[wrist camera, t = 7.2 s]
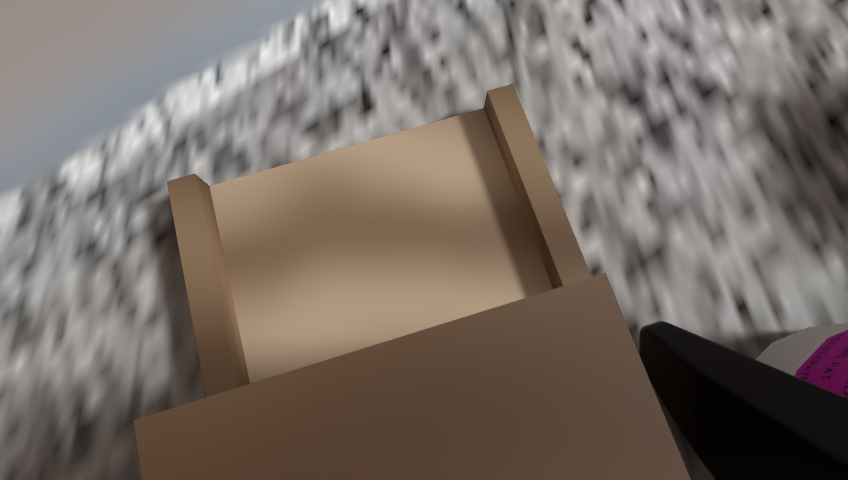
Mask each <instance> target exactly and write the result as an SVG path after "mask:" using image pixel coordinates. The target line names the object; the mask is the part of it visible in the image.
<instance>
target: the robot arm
mask: <svg viewBox="0 0 848 480" xmlns="http://www.w3.org/2000/svg"><path fill="white" fill-rule="evenodd" d="M639 355H640V358H641V360H642V363H643V365H644V367H645V370H646V372H647V375H648V377H649V380H650V382H651V384H652V386H653V387H654V389H655V391H656V392H657V394H658V395H659V397H660V399H661V400H662V402H663V404H664V405H665V407H666V408H667V410H668V412H669V413H670V415H671V416H672V418H673V420H674V421H675V423H676V425H677V426H678V428H679V429H680V431H681V433H682V434H683V436H684V437H685V439H686V440H687V442H688V443H689V445H690V446H691V448H692V449H693V450H694V452H695V453H696V454H697V456H698V457H699V458H700V460H701V461H702V462H703V464H704V465H705V466H706V467H707V469H708V470H709V471H710V473H711V474H712V475H713V477H714V478H715V479H716V480H848V398H845V397H843V396H841V395H838V394H836V393H834V392H831V391H829V390H826V389H824V388H822V387H819V386H817V385H815V384H812V383H810V382H807V381H805V380H803V379H800V378H798V377H796V376H793V375H791V374H788V373H786V372H784V371H781V370H779V369H777V368H774V367H772V366H769V365H767V364H765V363H762V362H760V361H758V360H755V359H753V358H750V357H748V356H746V355H743V354H741V353H739V352H736V351H734V350H731V349H729V348H727V347H724V346H722V345H719V344H717V343H715V342H712V341H710V340H708V339H705V338H703V337H700V336H698V335H696V334H693V333H691V332H689V331H686V330H684V329H681V328H679V327H677V326H674V325H672V324H670V323H667V322H663V321H659V322H656V323H653V324H650V325H647V326H644V327H642V328H641V330H640V338H639Z"/></svg>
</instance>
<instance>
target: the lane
mask: <svg viewBox="0 0 848 480" xmlns="http://www.w3.org/2000/svg"><path fill="white" fill-rule="evenodd" d="M167 185H168V191H169V196H170V202H171V207H172V213H173V218H174V224H175V229H176V235H177V241H178V246H179V252H180V257H181V263H182V268H183V274H184V279H185V285H186V290H187V296H188V301H189V307H190V312H191V318H192V323H193V329H194V334H195V340H196V345H197V351H198V357H199V362H200V368H201V373H202V379H203V384H204V390H205V395H206V397H209V396H212V395H215V394H218V393H222V392H225V391H228V390H231V389H234V388H238V387H241V386H244V385H247V384H251V383H254V382H257V381H260V380H263V379H267V378H270V377H273V376H276V375H279V374H283V373H286V372H289V371H292V370H296V369H299V368H302V367H305V366H308V365H312V364H315V363H318V362H321V361H324V360H328V359H331V358H334V357H337V356H341V355H344V354H347V353H350V352H353V351H357V350H360V349H363V348H366V347H369V346H373V345H376V344H379V343H382V342H385V341H389V340H392V339H395V338H398V337H402V336H405V335H408V334H411V333H414V332H418V331H421V330H424V329H427V328H430V327H434V326H437V325H440V324H443V323H447V322H450V321H453V320H456V319H459V318H463V317H466V316H469V315H472V314H475V313H479V312H482V311H485V310H488V309H492V308H495V307H498V306H501V305H504V304H508V303H511V302H514V301H517V300H520V299H524V298H527V297H530V296H533V295H536V294H540V293H543V292H546V291H549V290H553V289H556V288H559V287H562V286H565V285H569V284H572V283H575V282H578V281H581V280H585V279H588V278H591V275H590V272H589V270H588V267H587V265H586V262H585V260H584V257H583V255H582V253H581V250H580V248H579V245H578V243H577V240H576V238H575V235H574V233H573V231H572V228H571V226H570V223H569V221H568V218H567V216H566V213H565V211H564V208H563V206H562V204H561V201H560V199H559V196H558V194H557V191H556V189H555V186H554V184H553V181H552V179H551V177H550V174H549V172H548V169H547V167H546V164H545V162H544V159H543V157H542V155H541V152H540V150H539V147H538V145H537V142H536V140H535V137H534V135H533V132H532V130H531V128H530V125H529V123H528V120H527V118H526V115H525V113H524V110H523V108H522V105H521V103H520V101H519V98H518V96H517V93H516V91H515V88H514V86H513V84H511V85H507V86H504V87H500V88H496V89H493V90H489V91H487V95H486V100H485V105H484V108H482V109H479V110H475V111H472V112H468V113H465V114H461V115H458V116H454V117H451V118H447V119H444V120H440V121H437V122H433V123H430V124H426V125H423V126H419V127H416V128H412V129H409V130H405V131H401V132H398V133H394V134H391V135H387V136H384V137H380V138H377V139H373V140H370V141H366V142H363V143H359V144H356V145H352V146H349V147H345V148H342V149H338V150H335V151H331V152H328V153H324V154H321V155H317V156H314V157H310V158H307V159H303V160H300V161H296V162H293V163H289V164H286V165H282V166H279V167H275V168H272V169H268V170H264V171H261V172H257V173H254V174H250V175H247V176H243V177H240V178H236V179H233V180H229V181H226V182H222V183H219V184H215V185H212V186H209V185H208V184H206V183H205V182H204V181H203V180H202V179H200V178H199V177H198V176H197V175H196V174H192V175H188V176H185V177H181V178H178V179H174V180H171V181H167Z"/></svg>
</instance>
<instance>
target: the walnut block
mask: <svg viewBox="0 0 848 480" xmlns="http://www.w3.org/2000/svg"><path fill="white" fill-rule="evenodd" d="M134 428H135V435H136V442H137V449H138V457H139V464H140V471H141V478H142V480H691V479H690V476H689V474H688V472H687V469H686V467H685V464H684V462H683V459H682V457H681V455H680V452H679V450H678V447H677V445H676V443H675V440H674V438H673V435H672V433H671V430H670V428H669V426H668V423H667V421H666V418H665V416H664V413H663V411H662V409H661V406H660V404H659V401H658V399H657V397H656V394H655V392H654V389H653V387H652V384H651V382H650V380H649V377H648V375H647V372H646V370H645V367H644V365H643V363H642V360H641V358H640V355H639V353H638V350H637V348H636V346H635V343H634V341H633V338H632V336H631V334H630V331H629V329H628V326H627V324H626V321H625V319H624V317H623V314H622V312H621V309H620V307H619V304H618V302H617V300H616V297H615V295H614V292H613V290H612V288H611V285H610V283H609V280H608V278H607V275H606V273H604V274H601V275H598V276H594V277H591V278H588V279H585V280H581V281H578V282H575V283H572V284H569V285H565V286H562V287H559V288H556V289H553V290H549V291H546V292H543V293H540V294H536V295H533V296H530V297H527V298H524V299H520V300H517V301H514V302H511V303H508V304H504V305H501V306H498V307H495V308H492V309H488V310H485V311H482V312H479V313H475V314H472V315H469V316H466V317H463V318H459V319H456V320H453V321H450V322H447V323H443V324H440V325H437V326H434V327H430V328H427V329H424V330H421V331H418V332H414V333H411V334H408V335H405V336H402V337H398V338H395V339H392V340H389V341H385V342H382V343H379V344H376V345H373V346H369V347H366V348H363V349H360V350H357V351H353V352H350V353H347V354H344V355H341V356H337V357H334V358H331V359H328V360H324V361H321V362H318V363H315V364H312V365H308V366H305V367H302V368H299V369H296V370H292V371H289V372H286V373H283V374H279V375H276V376H273V377H270V378H267V379H263V380H260V381H257V382H254V383H251V384H247V385H244V386H241V387H238V388H234V389H231V390H228V391H225V392H222V393H218V394H215V395H212V396H209V397H206V398H202V399H199V400H196V401H193V402H190V403H186V404H183V405H180V406H177V407H173V408H170V409H167V410H164V411H161V412H157V413H154V414H151V415H148V416H145V417H141V418H138V419H135V420H134Z"/></svg>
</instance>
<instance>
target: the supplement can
mask: <svg viewBox="0 0 848 480" xmlns="http://www.w3.org/2000/svg"><path fill="white" fill-rule="evenodd" d="M755 360H758V361H760V362H762V363H765V364H767V365H769V366H772V367H774V368H777V369H779V370H781V371H784V372H786V373H788V374H791V375H793V376H796V377H798V378H800V379H803V380H805V381H807V382H810V383H812V384H815V385H817V386H819V387H822V388H824V389H826V390H829V391H831V392H834V393H836V394H838V395H841V396H843V397H845V398H848V323H844V324H835V325H826V326H817V327H808V328H806V329H804V330H801V331H799V332H796V333H794V334H791V335H789V336H786V337H784V338H781V339H779V340H776V341H774V342H772V343H771V344H770V345H769V346H768V347H767V348H766V349H765V350H764V351H763V352H762V353H761V354H760V355H759V356H758V357H757V358H756V359H755Z"/></svg>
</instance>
